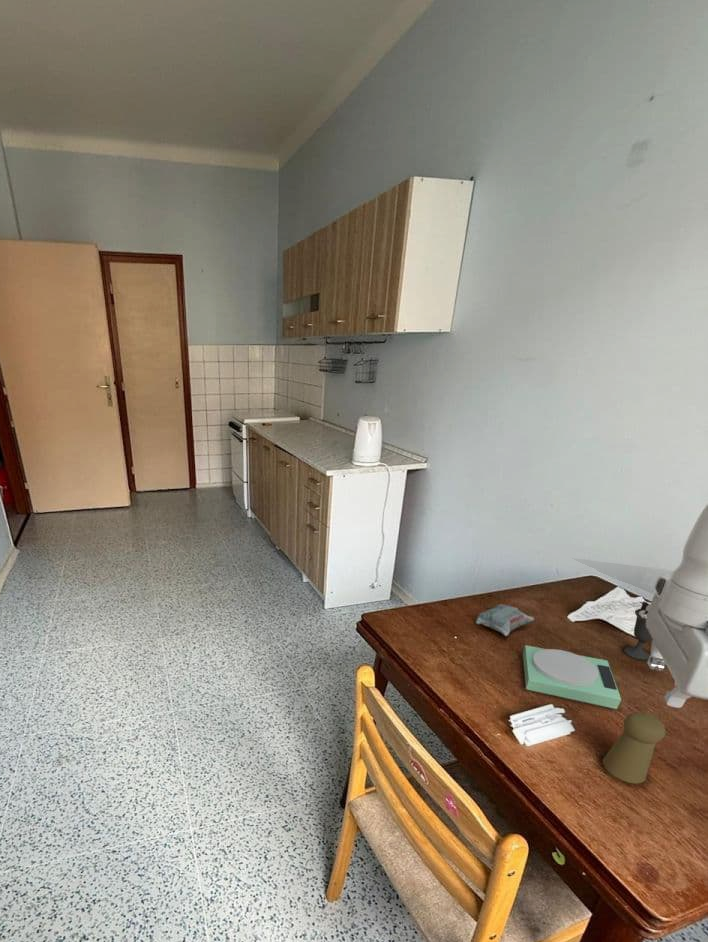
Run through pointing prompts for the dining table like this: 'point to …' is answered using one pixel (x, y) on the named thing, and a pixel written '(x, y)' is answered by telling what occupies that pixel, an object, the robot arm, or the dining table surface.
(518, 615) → the packaged food
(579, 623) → the dining table surface
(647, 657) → the sundae
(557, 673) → the scale
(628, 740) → the dark olive tapered piece
